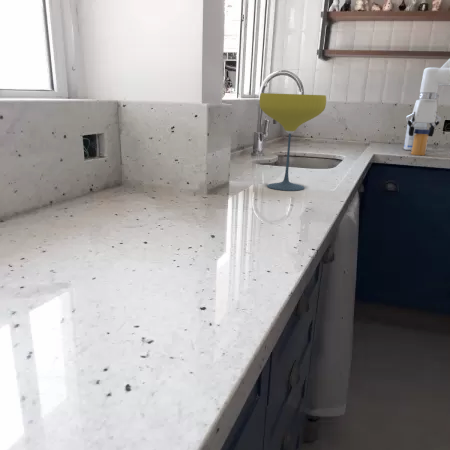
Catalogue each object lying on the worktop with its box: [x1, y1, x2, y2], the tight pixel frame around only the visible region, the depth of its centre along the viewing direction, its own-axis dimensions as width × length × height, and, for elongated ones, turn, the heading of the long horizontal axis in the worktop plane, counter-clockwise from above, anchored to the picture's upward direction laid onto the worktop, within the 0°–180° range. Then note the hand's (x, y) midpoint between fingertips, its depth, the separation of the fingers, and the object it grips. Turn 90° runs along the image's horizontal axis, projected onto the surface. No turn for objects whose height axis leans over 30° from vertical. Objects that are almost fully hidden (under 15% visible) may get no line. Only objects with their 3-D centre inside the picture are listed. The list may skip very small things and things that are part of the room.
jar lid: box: [414, 128, 430, 134], centre depth 230 cm, size 7×7×2 cm
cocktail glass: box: [258, 92, 327, 192], centre depth 136 cm, size 18×18×25 cm
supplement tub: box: [403, 119, 428, 151], centre depth 250 cm, size 10×10×15 cm
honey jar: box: [410, 134, 430, 156], centre depth 232 cm, size 6×6×11 cm
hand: (420, 135), depth 230 cm, fingers open, 9 cm apart
